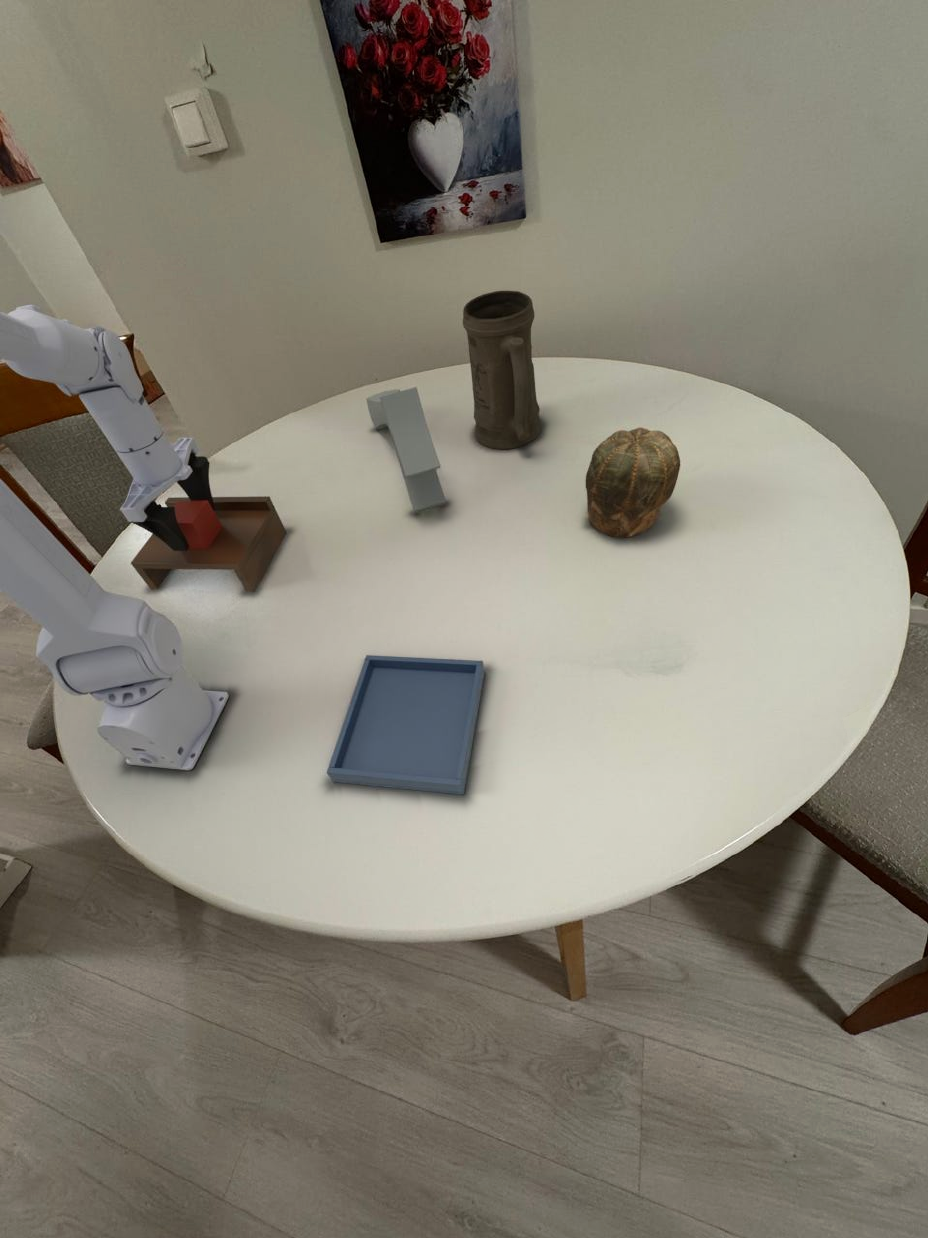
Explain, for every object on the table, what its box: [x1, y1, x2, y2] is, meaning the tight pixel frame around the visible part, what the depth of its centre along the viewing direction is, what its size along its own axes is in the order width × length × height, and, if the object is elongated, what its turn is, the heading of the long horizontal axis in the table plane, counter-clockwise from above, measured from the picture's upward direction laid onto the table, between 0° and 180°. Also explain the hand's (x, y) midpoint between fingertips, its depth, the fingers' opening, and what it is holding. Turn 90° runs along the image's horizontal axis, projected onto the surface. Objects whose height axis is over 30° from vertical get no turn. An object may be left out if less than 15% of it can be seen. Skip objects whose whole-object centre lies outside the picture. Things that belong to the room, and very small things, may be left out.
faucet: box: [365, 386, 447, 515], centre depth 88 cm, size 6×17×30 cm
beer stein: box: [462, 290, 542, 450], centre depth 86 cm, size 15×11×20 cm
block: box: [174, 501, 223, 549], centre depth 77 cm, size 4×4×4 cm
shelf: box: [130, 495, 287, 593], centre depth 80 cm, size 12×16×6 cm
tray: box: [326, 654, 486, 796], centre depth 60 cm, size 14×13×2 cm
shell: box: [585, 427, 681, 539], centre depth 72 cm, size 11×11×12 cm
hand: (195, 529), depth 77 cm, fingers open, 7 cm apart
